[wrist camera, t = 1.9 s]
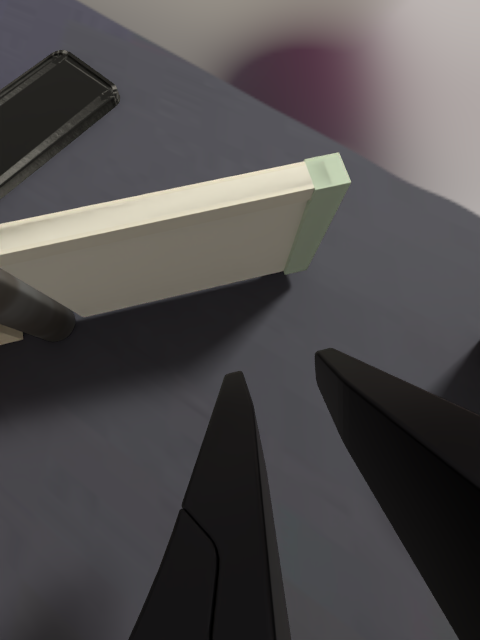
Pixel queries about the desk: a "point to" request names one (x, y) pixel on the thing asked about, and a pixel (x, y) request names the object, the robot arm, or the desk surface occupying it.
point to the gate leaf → (177, 237)
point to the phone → (48, 113)
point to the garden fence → (30, 313)
